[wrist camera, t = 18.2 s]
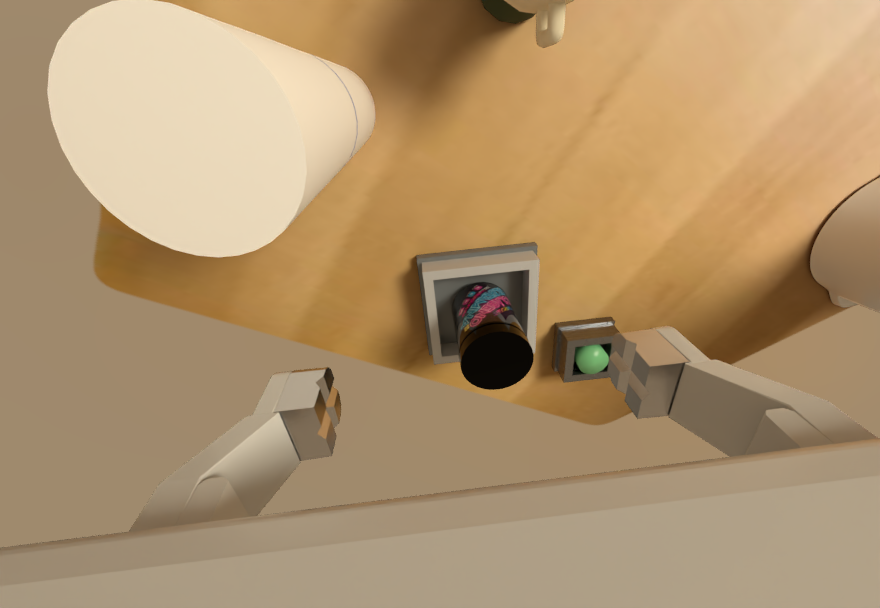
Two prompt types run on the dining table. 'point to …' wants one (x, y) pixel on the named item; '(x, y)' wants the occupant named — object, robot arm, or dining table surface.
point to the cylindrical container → (200, 124)
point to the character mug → (521, 3)
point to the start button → (591, 358)
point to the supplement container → (489, 337)
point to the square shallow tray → (460, 268)
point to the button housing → (578, 336)
